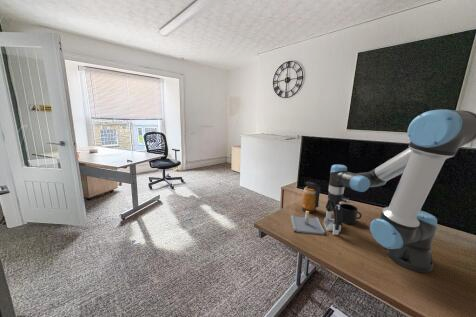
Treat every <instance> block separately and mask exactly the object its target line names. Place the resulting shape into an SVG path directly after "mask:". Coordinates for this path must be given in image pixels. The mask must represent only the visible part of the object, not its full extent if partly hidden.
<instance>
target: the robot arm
mask: <svg viewBox="0 0 476 317" xmlns="http://www.w3.org/2000/svg"><path fill="white" fill-rule="evenodd" d="M407 127H408V128H407V137H408V139H409V143H408V148H406V149H405V150H402V152H400V153H398V154H396V155H394V157H392V158H389V159H388V160H386V161H385V162H384V163H382V164H379V166H377V167H376V168H373V169H372V170H371V171H368V172H367V171H366V172H358V173H356V172H355V173H354V172H350V171H348V167H347V166H346V165H344V164H333V165H331V167H330V172H329V174H330V175H329V183H328V192H327V202H326V205H325V209H326V215H325V218H331V219H332V215H333V217H334V218H333V219H334V220H335V223H333V224H334V226H333V231H332V235H333V236H334V235H336V236H339V234H340V232H339V226H340V225H341V226H342V225H343V222H342V216H341V206H340V205H341V204H340V202H343V199H344V191H345V189H346V187H347V188H349V189H351V190H353V191H355V192H356V191H357V192H360V193H363V192H366V191H367V190H369V188H375V187H376V188H377V187H380V186H381V187H382V186H384V185H386V183H387V182H388V181H390V180H392V179H393V178H396V177H398V176H400V175H401V178H400V180H399V183H398V184H397V186H396V189H395V191H394V194H393V196H392V198H391V202H390V203H389V206H386V207H383V208H382V210H381V212H380V215H379V217H378V218H374V219H373V220H371V222H370V225H369V230H370V231H369V232H370V234H372V237H373V239H374V240H375V241H376V242H377V244H379V245H380V246H381V247H383V248H385V249H386V250H387V255H388V257H389V259H391V260H392V261H394V262H395V263H396V264H398V265H399V266H401V267H404V268H406V269H409V270H410V271H415V272H419V273H430V272H432V270H433V268H434V260H433V256H432V245H433V242H434V237H435V234H436V229H437V227H438V219H437V217H436V216H435V215H433V214H431V213H429V212H427V211H423V210H422V207H423V205H424V204H425V201H426V199H427V197H428V195H429V193H430V191H431V189H432V187H433V185H434V184H435V182H436V180H437V178H438V175H439V173H440V171H441V170H442V167H443V165H444V163H445V162H446V160H447V159H450V158H453V157H455V156H456V154H457V152H458V150H459V149H460V148H461V147H464V146H466V145H468V144H470V143H472V142H474V141H475V140H476V113H475V112H472V111H469V110H461V109H460V110H459V109H458V110H453V109H446V108H445V109H434V110H433V109H432V110H428V111H425V112H422V113H421V114H419V115H417V116H416V117H414V118H413V119H412V120H411V122H410V123H409V126H407ZM332 212H333V214H332Z"/></svg>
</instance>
